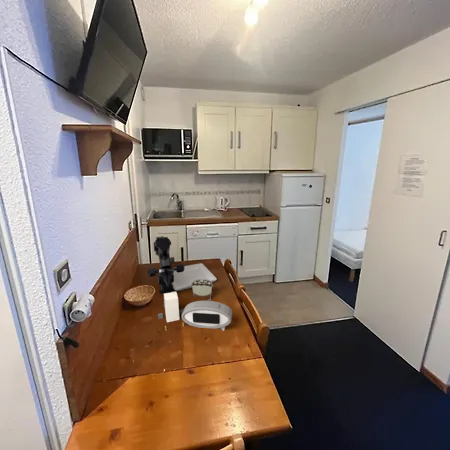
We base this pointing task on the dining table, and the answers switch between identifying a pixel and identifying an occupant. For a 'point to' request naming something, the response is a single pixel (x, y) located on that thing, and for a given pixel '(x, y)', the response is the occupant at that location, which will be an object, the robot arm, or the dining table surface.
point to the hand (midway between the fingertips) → (168, 285)
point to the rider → (171, 306)
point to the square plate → (191, 276)
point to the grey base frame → (162, 316)
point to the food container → (202, 288)
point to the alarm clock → (207, 314)
